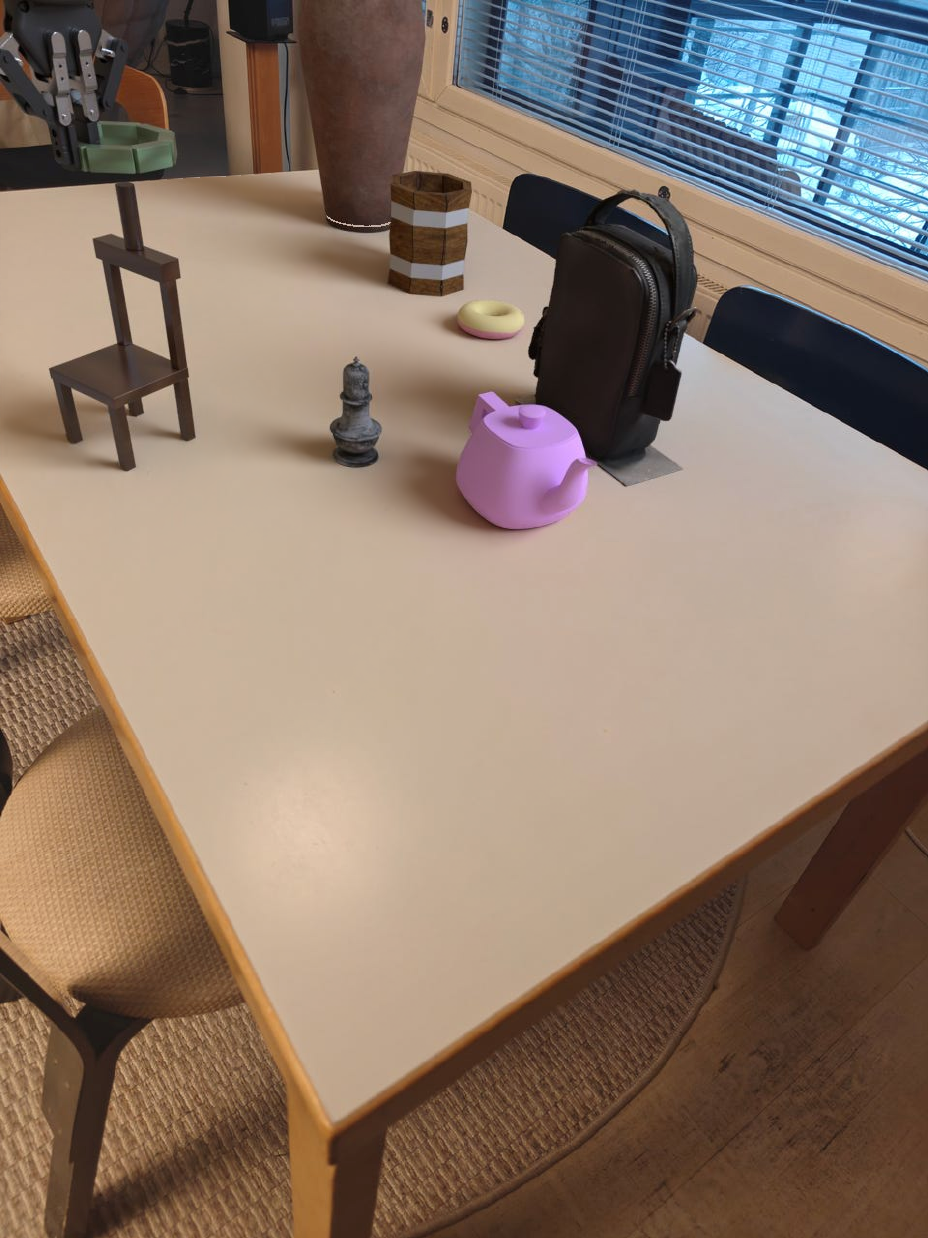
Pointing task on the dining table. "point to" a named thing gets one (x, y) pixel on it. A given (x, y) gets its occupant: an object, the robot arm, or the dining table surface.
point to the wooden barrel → (428, 232)
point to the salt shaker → (355, 420)
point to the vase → (361, 100)
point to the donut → (490, 319)
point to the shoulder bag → (616, 336)
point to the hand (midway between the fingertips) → (80, 166)
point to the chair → (128, 341)
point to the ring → (129, 149)
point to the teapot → (522, 464)
